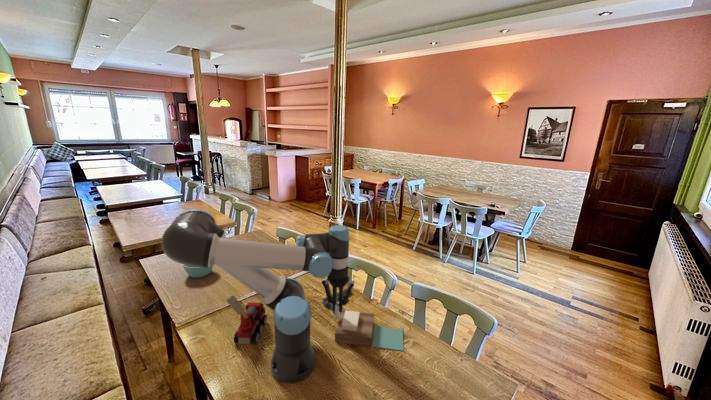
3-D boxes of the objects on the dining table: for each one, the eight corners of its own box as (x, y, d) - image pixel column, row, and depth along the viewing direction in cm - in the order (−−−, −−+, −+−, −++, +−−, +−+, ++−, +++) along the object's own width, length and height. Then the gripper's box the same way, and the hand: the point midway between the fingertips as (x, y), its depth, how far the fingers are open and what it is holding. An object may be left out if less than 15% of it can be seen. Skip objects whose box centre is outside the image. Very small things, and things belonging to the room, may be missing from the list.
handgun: (364, 298, 137) (347, 286, 145) (336, 313, 124) (319, 298, 132) (363, 303, 137) (347, 291, 145) (336, 318, 125) (319, 303, 133)
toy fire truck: (268, 319, 121) (266, 283, 117) (255, 348, 106) (252, 306, 102) (241, 318, 121) (238, 281, 117) (224, 346, 106) (220, 305, 102)
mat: (403, 351, 108) (403, 350, 108) (371, 346, 109) (371, 346, 109) (402, 329, 119) (402, 328, 119) (374, 325, 121) (374, 324, 120)
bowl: (219, 276, 152) (217, 262, 150) (184, 284, 143) (182, 270, 141) (214, 264, 164) (212, 251, 162) (182, 271, 156) (180, 257, 154)
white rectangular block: (356, 331, 111) (356, 326, 111) (341, 329, 112) (341, 324, 111) (359, 316, 120) (359, 312, 119) (345, 314, 120) (345, 310, 120)
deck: (370, 346, 109) (371, 337, 108) (334, 341, 111) (335, 333, 110) (373, 322, 122) (374, 314, 121) (341, 318, 124) (341, 310, 123)
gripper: (356, 262, 113) (354, 313, 119) (324, 259, 114) (323, 309, 120) (354, 271, 105) (351, 325, 112) (319, 268, 107) (319, 321, 113)
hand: (337, 317), depth 116 cm, fingers closed
